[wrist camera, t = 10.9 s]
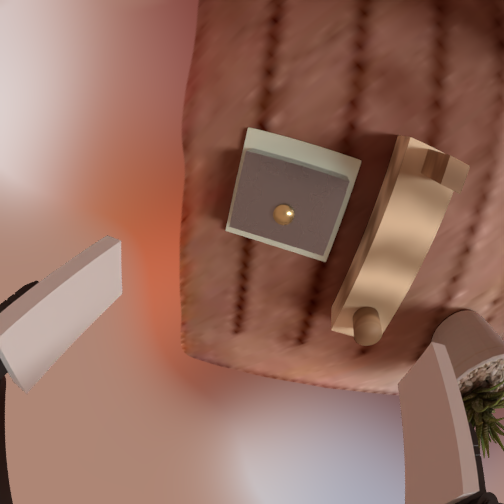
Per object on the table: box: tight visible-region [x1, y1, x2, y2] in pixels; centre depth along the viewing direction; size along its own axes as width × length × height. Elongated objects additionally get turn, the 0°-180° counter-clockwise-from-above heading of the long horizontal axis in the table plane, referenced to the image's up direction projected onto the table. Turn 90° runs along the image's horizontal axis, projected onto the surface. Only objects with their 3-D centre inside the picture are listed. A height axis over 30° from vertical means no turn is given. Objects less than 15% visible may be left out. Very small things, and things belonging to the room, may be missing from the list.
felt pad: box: [225, 127, 361, 262], centre depth 30 cm, size 12×12×1 cm
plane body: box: [331, 135, 470, 346], centre depth 25 cm, size 22×6×10 cm, turn 167°
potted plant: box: [432, 310, 504, 458], centre depth 24 cm, size 13×14×20 cm
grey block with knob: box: [229, 148, 350, 256], centre depth 28 cm, size 8×10×3 cm
